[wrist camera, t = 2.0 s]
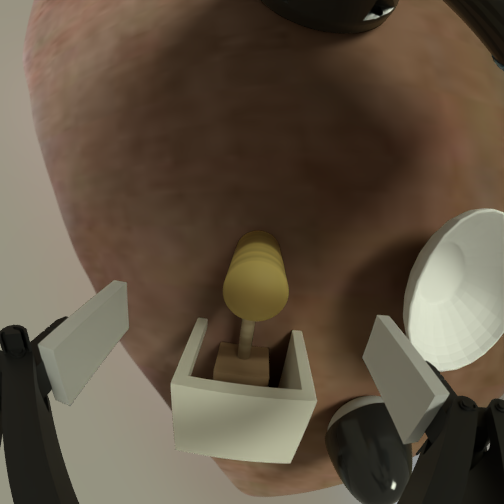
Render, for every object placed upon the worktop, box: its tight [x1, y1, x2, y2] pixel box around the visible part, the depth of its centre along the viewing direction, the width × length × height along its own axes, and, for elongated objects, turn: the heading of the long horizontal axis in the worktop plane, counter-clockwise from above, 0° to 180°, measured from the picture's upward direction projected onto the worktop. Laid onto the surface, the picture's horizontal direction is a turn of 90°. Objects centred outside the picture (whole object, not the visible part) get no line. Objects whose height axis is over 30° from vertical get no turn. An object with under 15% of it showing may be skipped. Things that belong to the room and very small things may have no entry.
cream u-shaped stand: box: [171, 317, 317, 463], centre depth 24 cm, size 9×10×10 cm
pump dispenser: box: [325, 396, 412, 504], centre depth 24 cm, size 10×10×15 cm
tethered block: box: [213, 231, 289, 387], centre depth 24 cm, size 17×5×9 cm, turn 173°
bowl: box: [403, 208, 504, 372], centre depth 23 cm, size 16×16×7 cm
